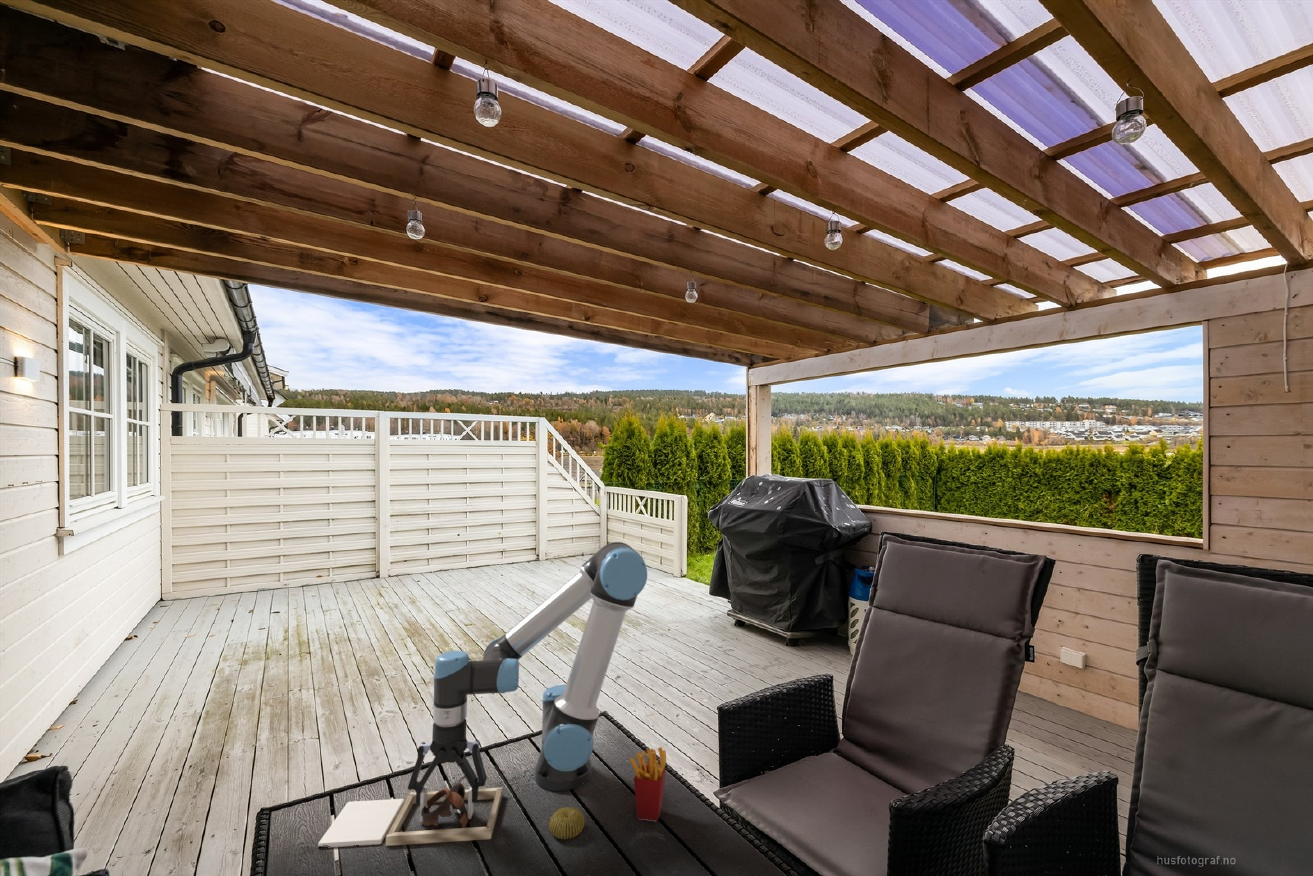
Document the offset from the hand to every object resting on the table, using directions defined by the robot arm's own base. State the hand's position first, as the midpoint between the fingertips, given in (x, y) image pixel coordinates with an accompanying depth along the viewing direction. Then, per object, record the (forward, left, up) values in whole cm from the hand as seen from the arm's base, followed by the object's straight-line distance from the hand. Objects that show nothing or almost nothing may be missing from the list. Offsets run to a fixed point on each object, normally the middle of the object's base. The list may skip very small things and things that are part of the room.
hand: (446, 816), depth 132 cm
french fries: (-47, +2, -1) cm, 47 cm away
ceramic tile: (+19, 0, -1) cm, 19 cm away
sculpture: (-28, +7, -1) cm, 29 cm away
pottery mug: (-1, +1, -1) cm, 1 cm away
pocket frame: (0, 0, -1) cm, 1 cm away
